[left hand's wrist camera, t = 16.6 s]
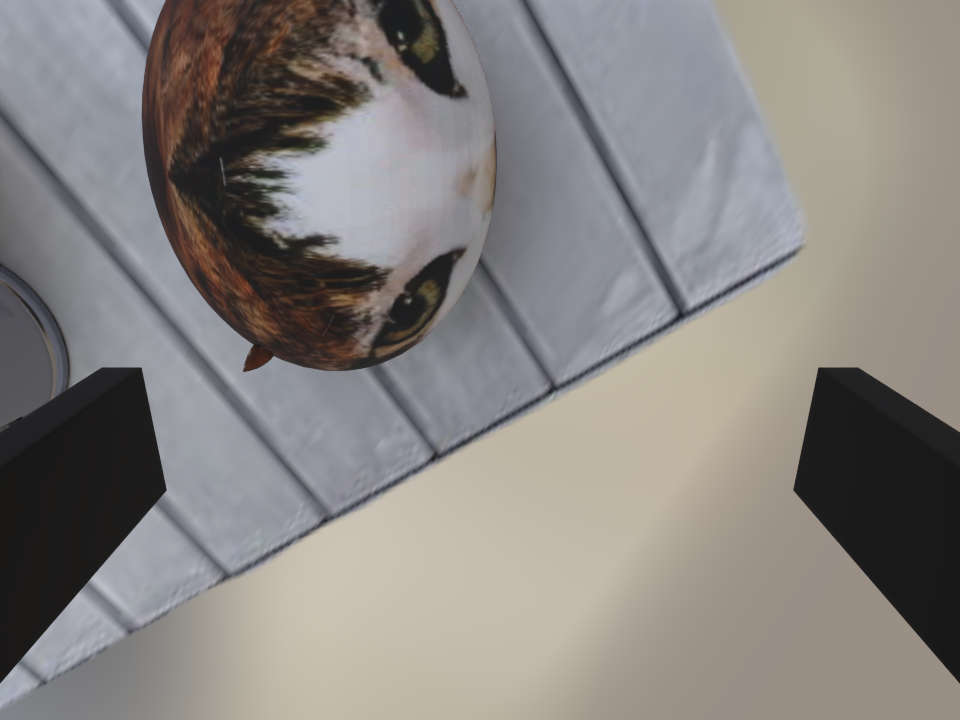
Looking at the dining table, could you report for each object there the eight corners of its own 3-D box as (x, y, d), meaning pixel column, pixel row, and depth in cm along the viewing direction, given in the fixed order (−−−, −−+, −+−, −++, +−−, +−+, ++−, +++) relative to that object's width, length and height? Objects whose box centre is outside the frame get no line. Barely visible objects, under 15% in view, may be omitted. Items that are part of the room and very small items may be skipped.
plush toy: (575, 347, 40) (316, 476, 25) (386, 293, 50) (126, 362, 36) (610, -67, 31) (251, -224, 17) (373, -28, 42) (28, -105, 27)
